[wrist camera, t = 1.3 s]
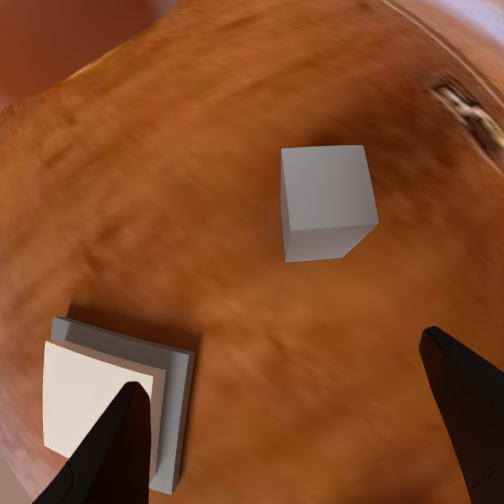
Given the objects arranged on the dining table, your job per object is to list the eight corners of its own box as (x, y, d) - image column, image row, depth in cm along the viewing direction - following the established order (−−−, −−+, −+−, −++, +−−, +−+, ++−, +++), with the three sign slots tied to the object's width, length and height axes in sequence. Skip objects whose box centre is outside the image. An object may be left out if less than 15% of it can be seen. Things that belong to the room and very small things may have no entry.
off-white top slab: (166, 370, 21) (153, 376, 18) (155, 475, 19) (144, 489, 17) (64, 339, 21) (45, 341, 19) (61, 437, 20) (44, 445, 17)
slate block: (335, 203, 24) (363, 145, 15) (342, 257, 23) (378, 224, 14) (280, 207, 24) (281, 148, 15) (285, 262, 23) (290, 230, 14)
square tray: (197, 351, 23) (189, 354, 21) (180, 481, 21) (171, 495, 19) (70, 317, 24) (53, 316, 22) (62, 436, 22) (47, 443, 20)
